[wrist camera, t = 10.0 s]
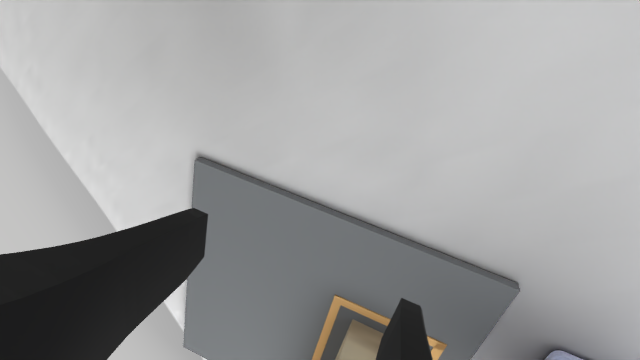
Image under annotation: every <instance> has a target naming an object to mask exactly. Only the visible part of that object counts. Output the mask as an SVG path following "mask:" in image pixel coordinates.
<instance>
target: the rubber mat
mask: <svg viewBox="0 0 640 360" xmlns="http://www.w3.org/2000/svg"><path fill="white" fill-rule="evenodd" d="M192 208H195V209H198V210H200V211H202V212H205V213H207V214H208V222H207V233H206V244H205V255H204V258H203V259H202V260H201V262H200V263H199V264H198V265H197V267H196V268H195V269H194V270H193V272H192V273H191V274H190V275H189V276H188V279H187V296H186V312H185V329H184V345H183V346H184V347H185V348H187V349H188V350H190V351H192V352H194V353H196V354H198V355H200V356H202V357H204V358H206V359H207V360H335V358H336V356H337V354H338V352H339V349H340V347H341V345H342V342H343V340H344V338H345V336H346V333H347V331H348V329H349V326H350V324H351V322H352V320H353V319H354V320H356V321H358V322H360V323H362V324H364V325H366V326H368V327H371V328H373V329H375V330H377V331H379V332H381V333H383V334H384V332H385V330H386V328H387V326H388V324H389V322H390V320H391V318H392V316H393V314H394V312H395V310H396V308H397V306H398V304H399V302H400V300H401V298H403V299H406V300H408V301H410V302H413V303H415V304H417V305H420V306H421V308H422V312H423V318H424V324H425V329H426V333H427V338H428V342H429V347H430V351H431V355H432V358H433V360H470V359H471V358H472V357H473V355H474V354H475V352H476V351H477V350H478V348H479V347H480V345H481V344H482V343H483V341H484V340H485V339H486V337H487V336H488V334H489V333H490V332H491V330H492V329H493V327H494V326H495V325H496V323H497V322H498V320H499V319H500V318H501V316H502V315H503V314H504V312H505V311H506V309H507V308H508V307H509V305H510V304H511V302H512V301H513V300H514V298H515V297H516V296H517V294H518V293H519V291H520V288H519V284H518V283H516V282H513V281H511V280H508V279H506V278H503V277H501V276H498V275H496V274H493V273H491V272H488V271H486V270H483V269H481V268H478V267H476V266H473V265H471V264H468V263H466V262H463V261H461V260H458V259H456V258H453V257H451V256H448V255H446V254H443V253H441V252H438V251H436V250H433V249H430V248H428V247H425V246H423V245H420V244H418V243H415V242H413V241H410V240H408V239H405V238H403V237H400V236H398V235H395V234H393V233H390V232H388V231H385V230H383V229H380V228H378V227H375V226H373V225H370V224H368V223H365V222H363V221H360V220H358V219H355V218H353V217H350V216H347V215H345V214H342V213H340V212H337V211H335V210H332V209H330V208H327V207H325V206H322V205H320V204H317V203H315V202H312V201H310V200H307V199H305V198H302V197H300V196H297V195H295V194H292V193H290V192H287V191H285V190H282V189H280V188H277V187H275V186H272V185H270V184H267V183H264V182H262V181H259V180H257V179H254V178H252V177H249V176H247V175H244V174H242V173H239V172H237V171H234V170H232V169H229V168H227V167H224V166H222V165H219V164H217V163H214V162H212V161H209V160H207V159H204V158H202V157H199V158H198V159H196V160H195V164H194V180H193V197H192Z"/></svg>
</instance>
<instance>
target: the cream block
mask: <svg viewBox="0 0 640 360" xmlns="http://www.w3.org/2000/svg"><path fill="white" fill-rule="evenodd" d="M382 336H383V333H381V332H379V331H377V330H375V329H373V328H371V327H368V326H366V325H364V324H362V323H360V322H358V321H356V320H354V319H353V320H352V322H351V324H350V326H349V329H348V331H347V333H346V336H345V338H344V340H343V342H342V345H341V347H340V349H339V352H338V354H337V356H336V358H335V360H376V356H377V353H378V349H379V345H380V342H381V338H382Z"/></svg>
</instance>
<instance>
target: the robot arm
mask: <svg viewBox="0 0 640 360" xmlns="http://www.w3.org/2000/svg"><path fill="white" fill-rule="evenodd" d="M207 222H208V214H207V213H205V212H202V211H200V210H198V209H195V208H192V209H188V210H185V211H181V212H178V213H175V214H172V215H169V216H166V217H163V218H160V219H157V220H154V221H151V222H148V223H145V224H142V225H138V226H135V227H132V228H129V229H125V230H122V231H118V232H115V233H111V234H107V235H104V236H101V237H97V238H92V239H89V240H84V241H80V242H75V243H70V244H65V245H61V246H55V247H49V248H43V249H37V250H30V251H24V252H17V253H10V254H1V255H0V360H107V359H108V357H109V356H110V355H111V354H112V353H113V352H114V351H115V350H116V348H117V347H118V346H119V345H120V344H121V343H122V342H123V340H124V339H125V338H126V337H127V336H128V335H129V334H130V333H131V332H132V331H133V330H134V329H135V328H136V326H138V325H139V324H140V323H141V322H142V321H143V320H144V319H145V318H146V317H147V316H148V315H149V314H150V313H151V312H152V311H154V309H156V308H157V307H158V306H159V305H160V304H161V303H162V302H163V301H164V300H165V299H166V298H167V297H168V296H169V295H170V294H171V293H172V292H174V291H175V290H176V289H177V288H178V287H179V286H180V285H181V284H182V283H183V282H184V281H185V280H186V279H187V278H188V276H189V275H190V274H191V273H192V272H193V270H194V269H195V268H196V267H197V265H198V264H199V263H200V262H201V260H202V259H203V258H204V255H205V244H206V233H207ZM376 360H433V358H432V355H431V351H430V347H429V342H428V338H427V333H426V329H425V324H424V318H423V312H422V308H421V306H420V305H417V304H415V303H413V302H410V301H408V300H406V299H403V298H401V300H400V302H399V304H398V306H397V308H396V310H395V312H394V314H393V316H392V318H391V320H390V322H389V324H388V326H387V328H386V330H385V332H384V334H383V336H382V338H381V342H380V345H379V349H378V353H377V356H376ZM545 360H583V359H581V358H578V357H576V356H574V355H571V354H569V353H566V352H564V351H560V350H556V351H553V352H551V353H550V354H549V355H548V356H547V358H546V359H545Z"/></svg>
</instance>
